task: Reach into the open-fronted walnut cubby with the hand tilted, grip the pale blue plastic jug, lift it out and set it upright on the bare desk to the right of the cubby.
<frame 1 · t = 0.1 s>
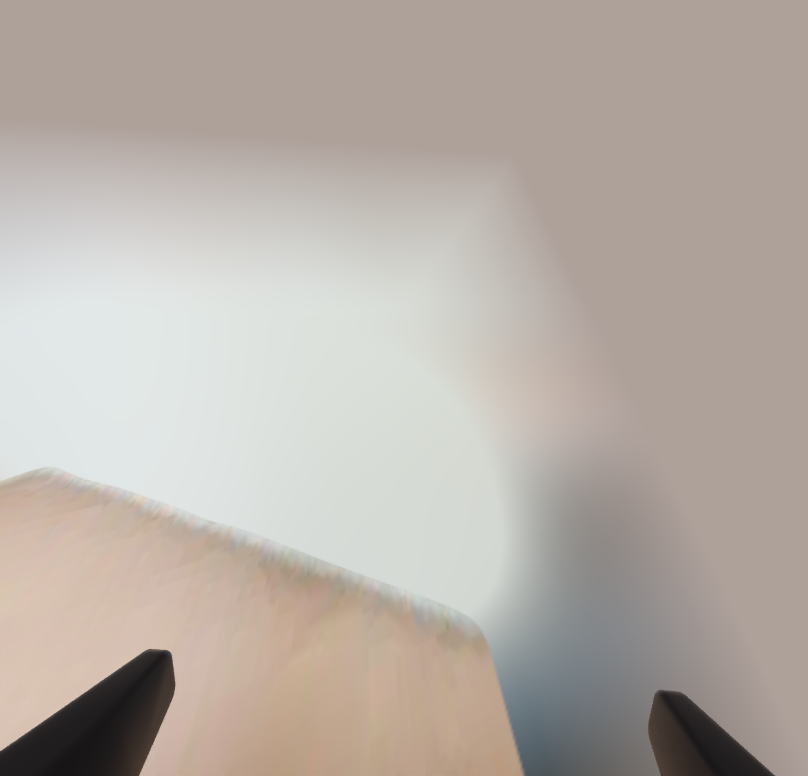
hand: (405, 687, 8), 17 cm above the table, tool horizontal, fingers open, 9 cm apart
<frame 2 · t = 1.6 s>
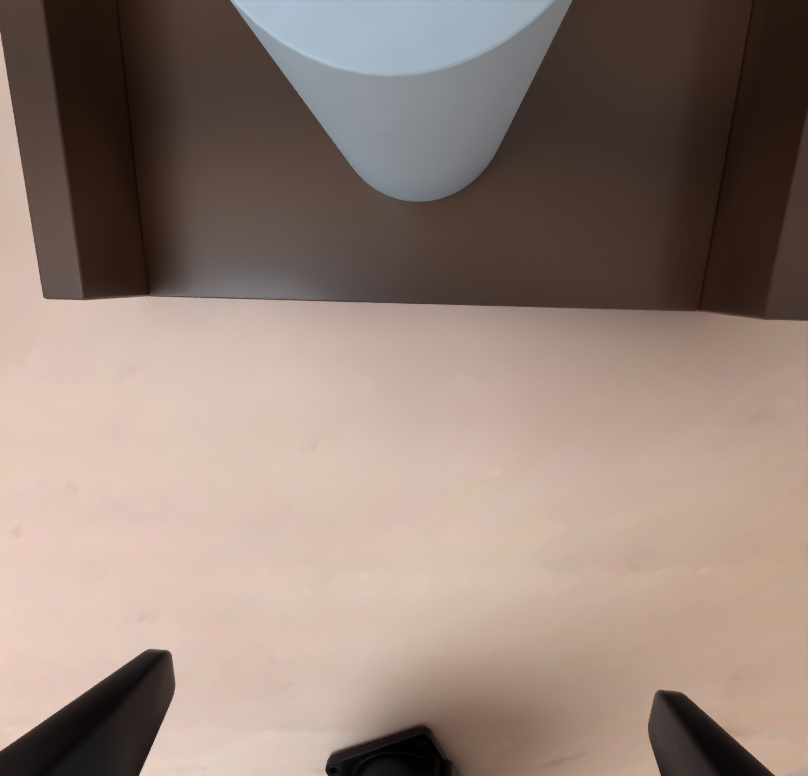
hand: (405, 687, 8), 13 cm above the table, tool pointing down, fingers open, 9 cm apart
cubby: (421, 121, 18), on the table
jug: (419, 107, 16), point 1 cm above the table, touching cubby
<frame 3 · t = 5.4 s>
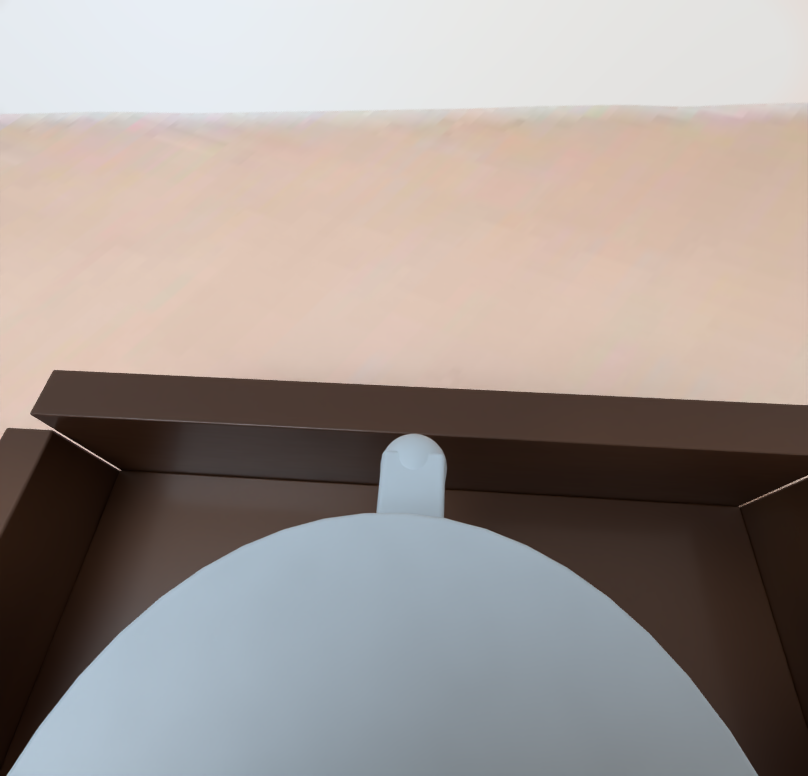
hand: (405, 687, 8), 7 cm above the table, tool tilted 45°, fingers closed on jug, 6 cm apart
cubby: (406, 725, 14), on the table
jug: (405, 732, 13), point 2 cm above the table, touching cubby, gripper
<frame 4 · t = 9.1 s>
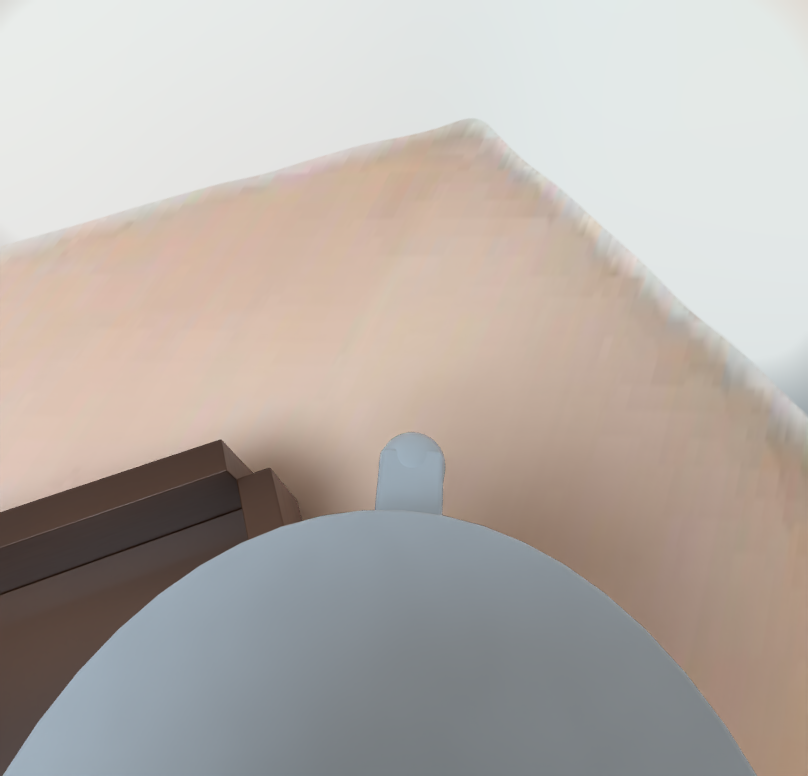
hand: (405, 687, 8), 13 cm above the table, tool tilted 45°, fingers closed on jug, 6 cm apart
cubby: (41, 763, 19), on the table
jug: (404, 731, 13), point 8 cm above the table, touching gripper
when the fingers open (6 cm above the table, at t = 13.3 s): jug stays where it is, on the table.
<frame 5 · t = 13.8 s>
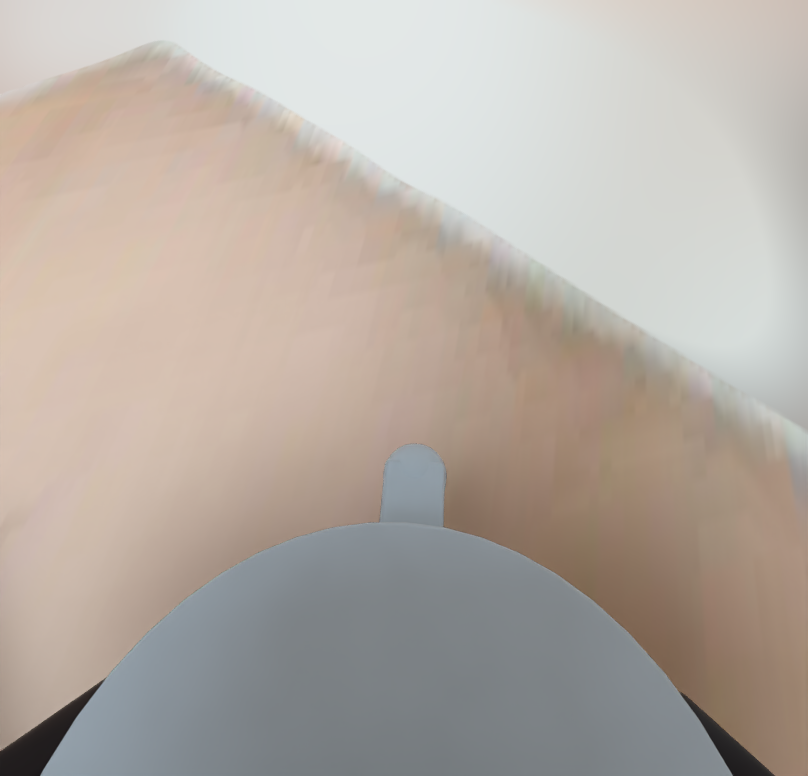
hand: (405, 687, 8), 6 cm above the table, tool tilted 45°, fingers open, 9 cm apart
jug: (406, 728, 13), on the table
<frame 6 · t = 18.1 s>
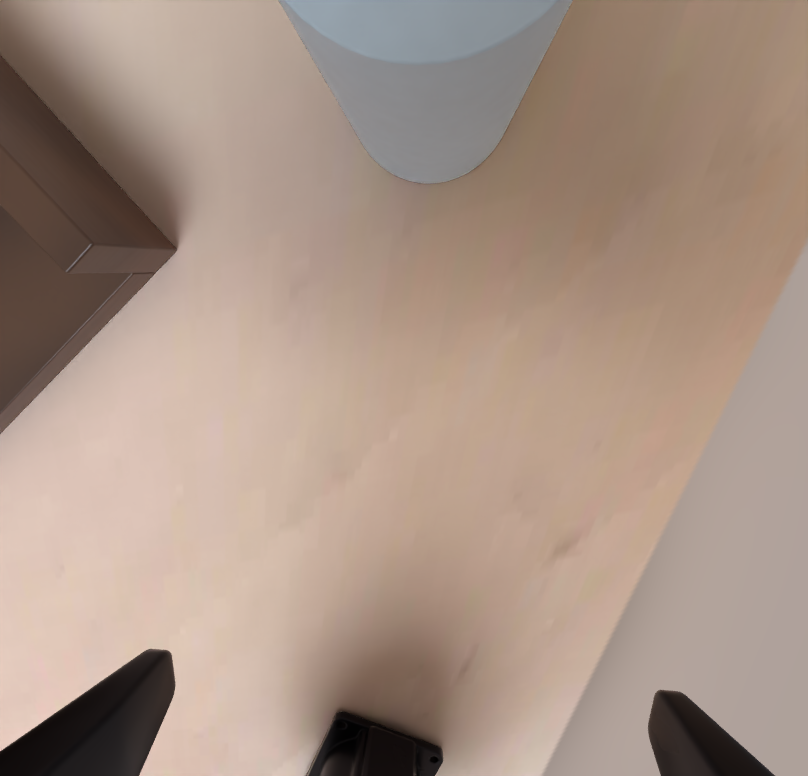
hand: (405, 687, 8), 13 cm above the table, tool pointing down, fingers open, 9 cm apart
jug: (430, 93, 17), on the table
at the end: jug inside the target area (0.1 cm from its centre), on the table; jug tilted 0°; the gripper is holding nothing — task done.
